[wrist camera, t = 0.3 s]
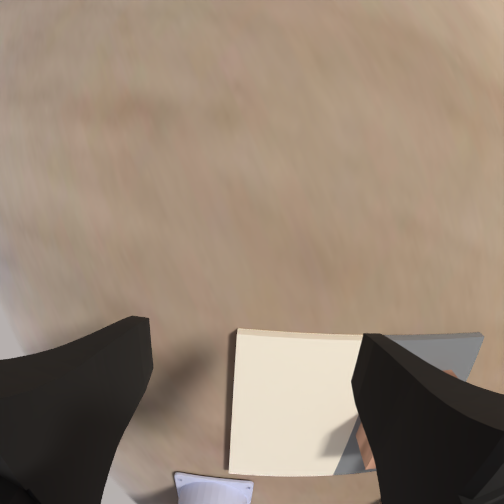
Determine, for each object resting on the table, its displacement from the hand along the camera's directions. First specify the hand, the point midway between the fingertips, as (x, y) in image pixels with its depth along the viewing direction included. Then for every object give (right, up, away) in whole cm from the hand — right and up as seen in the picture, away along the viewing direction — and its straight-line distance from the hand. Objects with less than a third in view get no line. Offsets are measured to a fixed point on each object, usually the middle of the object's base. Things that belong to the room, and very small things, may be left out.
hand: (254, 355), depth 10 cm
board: (+8, -10, +13) cm, 18 cm away
